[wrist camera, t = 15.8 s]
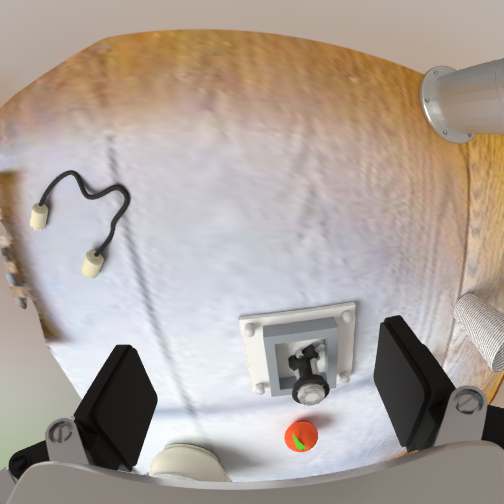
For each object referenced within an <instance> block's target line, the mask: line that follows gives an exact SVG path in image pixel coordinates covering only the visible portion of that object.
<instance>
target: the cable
mask: <svg viewBox="0 0 504 504" xmlns="http://www.w3.org/2000/svg"><path fill="white" fill-rule="evenodd" d="M68 175H73V176H74V177H75V178H76V180H77V182H78V185H79V187H80V190H81V192H82V194H83V195H84V197H85V198H87V199H91V200H93V199H98V198H100V197H102V196H104V195H106V194H108V193H109V192H111V191H114V190H119V191H120V192H121V193H122V194H123V195H124V198H125V201H124V204H123V206H122V207H121V209H120V210H119V212H118V213H117V214H116V215H115V217H114V218H113V220H112V222H111V231H110V234H109V236H108V237H107V239H106V240H105V242H104V243H103V244H102V246H101V247H100V248H99V249H98V250H97V251H93V250H91V251H88V252H87V254H86V256H85V259H84V261H83V264H82V267H81V271H82V273H83V274H84V275H85V276H86V277H88V278H96V277H97V276H98V273H99V271H100V269H101V266H102V264H103V262H104V258H103V256H102V255H101V252H102V251H103V250H104V249H105V248H106V247H107V245H108V244H109V243H110V241H111V240H112V238H113V235H114V231H115V224H116V222H117V220H118V219H119V218H120V217H121V215H122V214H123V213H124V211H125V210H126V208H127V206H128V204H129V194H128V192H127V191H126V190H125V189H124V188H123V187H122V186H119V185H114V186H111V187H109V188H107V189H105V190H103V191H102V192H100V193H98V194H94V195H90V194H88V193H87V191H86V190H85V187H84V185H83V183H82V180H81V178H80V176H79V175H78V173H76V172H75V171H73V170H70V171H66V172H64V173H63V174H61V175H59V176H58V177H57V178H56V179H55V180H54V181H53V182H52V183H51V184H50V185H49V186H48V188H47V189H46V191H45V192H44V194H43V196H42V198H41V200H40V203H37V204H35V205H33V207H32V212H31V219H30V226H31V227H32V228H34V230H36V229H41V231H42V230H43V228H44V227H45V226H46V220H47V215H48V207H47V206H46V205H45V204H43V203H44V201H45V199H46V197H47V195H48V193H49V192H50V190H51V189H52V188H53V187H54V185H55V184H56V183H57V182H59V181H60V180H61V179H62V178H64V177H66V176H68Z"/></svg>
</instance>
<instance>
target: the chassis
mask: <svg viewBox="0 0 504 504" xmlns="http://www.w3.org/2000/svg"><path fill="white" fill-rule="evenodd" d="M355 306H356V305H355V303H354V302H348V303H342V304H336V305H329V306H322V307H315V308H308V309H301V310H293V311H286V312H278V313H269V314H260V315H251V316H242V317H239V319H238V321H239V326H240V331H241V336H242V341H243V346H244V352H245V357H246V362H247V367H248V371H249V376H250V381H251V386H252V391H253V392H256V394H259V395H261V394H264V392H265V391H270V390H271V394H272V397H273V396H283V395H291V394H292V390H293V385H294V383H295V382H296V381H297V377H296V374H295V372H294V371H293V370H292V369H291V368H289V362H288V358H289V357H290V356H291V355H293V356H294V355H296V351H297V350H298V349H300V348H301V350H303V349H304V348H306V347H307V346H308V345H310V344H312V345H315V344H317V343H319V342H320V341H323V342H324V344H323V345H324V346H325V348H323V349H322V350H320V352H319V356H320V360H318V362H317V366H318V370H319V374H320V375H321V376H323V378H324V379H325V381H326V382H327V383H328V384H329V388H330V389H331V388H336V381H340V380H341V382H342V383H346V382H348V381H349V379H351V370H352V359H353V346H354V329H355ZM321 344H322V343H320V345H321ZM322 347H323V346H321V347H320V348H322ZM299 352H300V351H298V353H299ZM322 386H323V385H322ZM297 392H298V390H297Z"/></svg>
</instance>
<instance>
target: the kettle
mask: <svg viewBox="0 0 504 504" xmlns="http://www.w3.org/2000/svg"><path fill="white" fill-rule="evenodd" d="M144 475H145V474H144ZM148 475H149V473H148V472H147V475H145V476H148ZM151 477H159V478H167V479H176V480H188V481H204V482H232V481H231V480H230V479H229V478H228V477H227V476H226V475H225V473H224V470H223V468H222V467H221V465H220V464H219V463H218V459H217V457H216V456H215V455H214V454H213V453H211V452H210V451H208V450H206V449H204V448H201V447H198V446H194V445H189V444H172V445H169V446H167V447H166V448H165V449H164V451H162V452H160V453H158V454H157V455H156V456H155V457H154V458H153V460H152V463H151Z"/></svg>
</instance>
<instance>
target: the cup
mask: <svg viewBox="0 0 504 504" xmlns="http://www.w3.org/2000/svg"><path fill="white" fill-rule="evenodd" d="M453 315H454V318H455V319H456V321H457V322H458V323H459V325H460V326H461V327H462V329H463V330H464V331H465V333H466V334H467V335H468V337H469V338H470V339H471V341H472V342H473V343H474V345H475V346H476V348H477V349H478V350H479V352H480V353H481V355H482V356H483V358H484V359H485V360H486V362H487V363H488V365H489V366H490V368H491V369H492V370H493V372H499V371H501V370H503V369H504V314H503V313H501V312H500V311H498V310H497V309H495V308H494V307H492V306H491V305H489V304H488V303H486V302H485V301H483V300H482V299H480V298H479V297H477V296H476V295H474V294H472V293H467V294H464V295H463V296H461V297H460V298H459V300H458V301H457V302H456V304H455V306H454V310H453Z"/></svg>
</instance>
